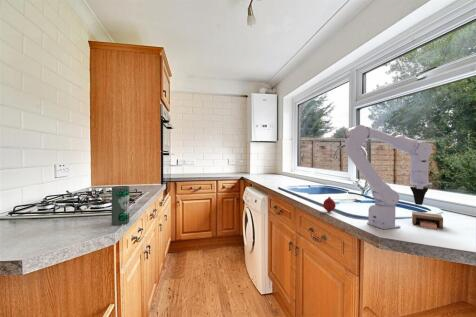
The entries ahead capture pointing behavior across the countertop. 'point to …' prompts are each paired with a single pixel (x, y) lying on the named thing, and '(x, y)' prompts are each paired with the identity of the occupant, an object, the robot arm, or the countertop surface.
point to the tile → (427, 224)
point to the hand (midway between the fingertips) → (418, 204)
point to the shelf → (427, 218)
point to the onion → (329, 204)
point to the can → (120, 205)
